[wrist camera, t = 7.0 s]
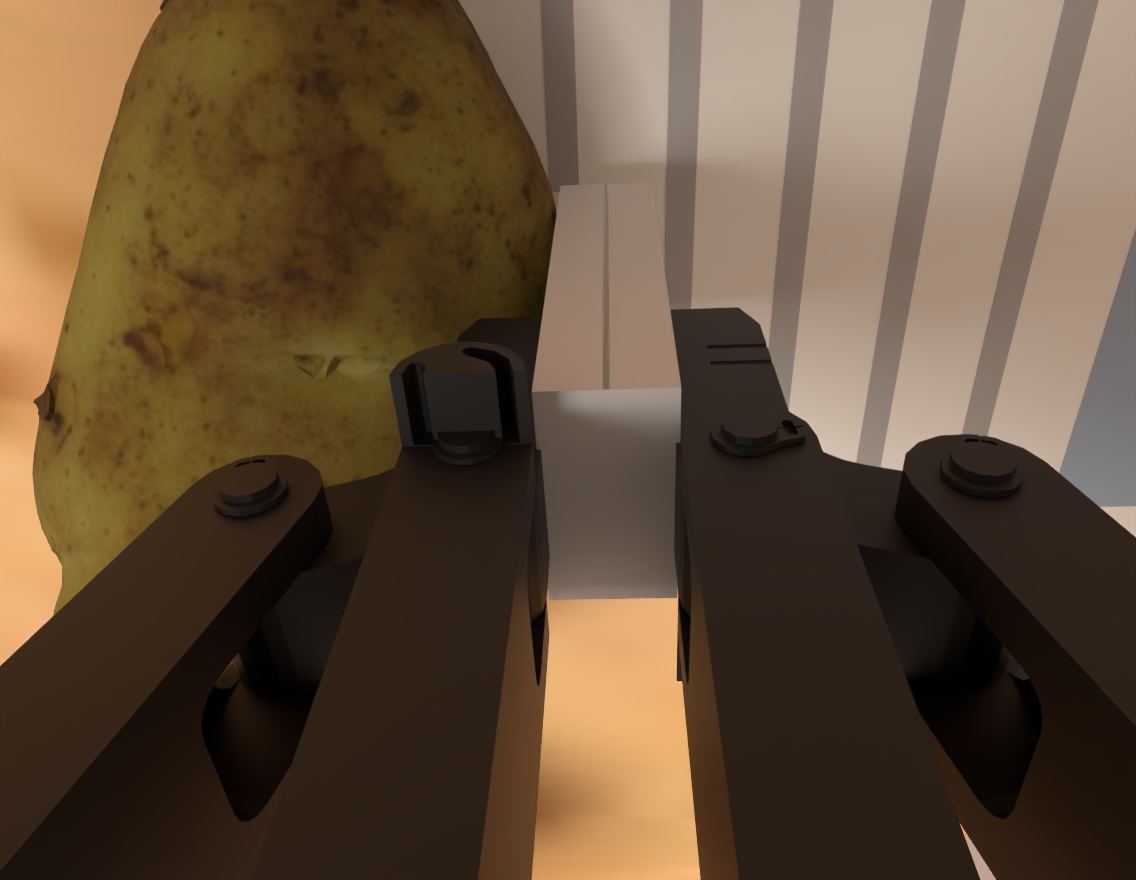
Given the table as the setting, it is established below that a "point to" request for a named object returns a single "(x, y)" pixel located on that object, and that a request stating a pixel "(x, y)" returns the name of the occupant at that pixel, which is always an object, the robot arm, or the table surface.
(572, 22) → the letter
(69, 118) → the table surface
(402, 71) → the potato
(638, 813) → the table surface
